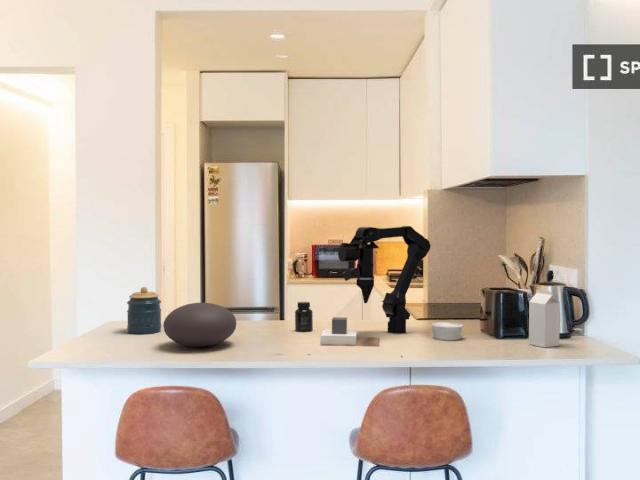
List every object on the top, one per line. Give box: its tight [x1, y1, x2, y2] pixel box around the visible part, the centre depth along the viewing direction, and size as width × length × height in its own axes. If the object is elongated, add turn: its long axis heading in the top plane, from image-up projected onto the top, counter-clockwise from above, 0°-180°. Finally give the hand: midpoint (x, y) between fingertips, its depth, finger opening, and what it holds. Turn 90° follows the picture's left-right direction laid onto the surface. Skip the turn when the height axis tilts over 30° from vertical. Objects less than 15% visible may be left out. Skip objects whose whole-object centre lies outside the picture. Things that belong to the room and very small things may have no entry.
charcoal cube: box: [331, 316, 348, 334], centre depth 211 cm, size 5×5×7 cm
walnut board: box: [319, 336, 381, 348], centre depth 211 cm, size 20×16×1 cm
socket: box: [320, 329, 358, 345], centre depth 211 cm, size 12×12×3 cm
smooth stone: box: [162, 302, 237, 348], centre depth 209 cm, size 25×25×15 cm
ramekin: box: [431, 321, 464, 342], centre depth 222 cm, size 11×11×5 cm
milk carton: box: [528, 289, 561, 348], centre depth 209 cm, size 7×7×19 cm
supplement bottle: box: [294, 301, 314, 333], centre depth 233 cm, size 7×7×12 cm
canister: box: [126, 286, 162, 335], centre depth 236 cm, size 13×13×18 cm
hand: (365, 303), depth 222 cm, fingers closed
